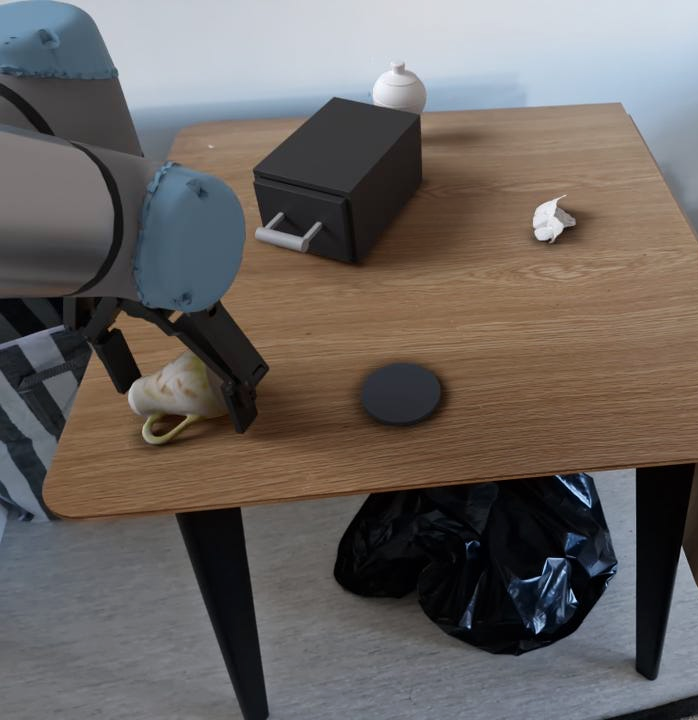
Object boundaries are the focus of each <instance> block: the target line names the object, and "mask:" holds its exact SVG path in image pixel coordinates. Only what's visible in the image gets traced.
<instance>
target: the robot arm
mask: <svg viewBox="0 0 698 720" xmlns="http://www.w3.org/2000/svg"><path fill="white" fill-rule="evenodd" d="M121 84H122V83H121V81H120V79H119V70H118V68H117V67H116V66H115V64H114V61H113V60H112V57H111V55H110V52H109V50H108V47H107V45H106V42H105V40H104V38H103V35H102V33H101V32H100V28H99V26H98V25H97V23H96V22H95V20H94V19H93V17H92V16H91V15H90V14H89V13H88V12H87V11H85V10H84V9H83V8H81V7H79V6H77V5H76V4H75V5H74V4H71V3H68V2H64V1H57V0H19V1H14V2H9V3H4V4H0V299H26V298H27V299H29V298H30V299H31V298H34V299H35V298H62V299H63V301H62V303H63V305H62V307H63V308H62V311H63V312H62V326H63V328H64V330H65V331H67V332H68V333H70V334H75V333H76V332H78V333H80V334H81V337H82V339H83V340H84V341H85V342H87V343H89V344H91V347H92V348H93V350H94V351H95V354H96V357H98V359H99V360H100V362H102V364H103V367H104V368H105V370H106V372H107V375H108V377H109V378H110V380H111V382H112V384H113V386H114V388H115V390H116V392H117V393H118V394H121V395H126V393H127V392H129V390H130V388H131V387H132V384H133V383H134V382H135V381H136V380H137V379H140V378H143V375H142V373H141V372H142V371H140V368H139V366H138V364H137V361H136V360H135V358H134V356H133V355H134V354H133V353H132V351H131V349H130V346H129V345H128V342H127V340H126V338H125V336H124V334H123V332H122V330H121V329H120V328H118V327H113V328H112V329H110V327H112V326H113V325H114V324H115V323H116V322H117V318H118V317H119V315H120V314H121V312H124V313H125V314H126V316H128V317H132V318H134V319H142V320H144V321H146V322H147V323H150V324H154V325H155V326H156V327H157V328H158V329H160V330H161V331H162V332H163V333H164V334H165V335H166V336H168V337H176V338H177V339H178V340H179V341H180V342H181V343H182V344H183V345H184V346H186V348H187V349H190V350H191V351H192V352H193V353H194V354H195V355H196V356H197V357H198V358H199V359H200V360H202V361H203V362H204V363H205V364H206V365H207V366H208V367H209V368H210V369H211V370H212V371H213V372H214V373H215V374H216V375H217V376H218V377H220V378H221V379H222V380H223V381H224V382H223V384H222V385H221V386H220V388H221V391H222V394H223V397H224V400H225V402H226V405H227V408H228V411H229V413H228V414H229V416H230V419H231V423H232V424H233V428H234V430H235V433H236V434H239V435H244V434H245V433H246V432H247V431H248V429H249V428H250V426H251V425H252V424H253V422H254V421H255V420H256V418H257V417H258V416H259V411H258V407H257V404H256V401H257V399H258V393H257V389H256V387H257V386H258V385H259V384H260V383H261V381H262V380H263V379H264V377H265V376H266V375H267V374H268V372H269V371H270V366H269V365H268V363H267V361H266V360H265V359H264V358H263V356H262V355H261V354H260V352H259V351H258V350H257V349H256V347H255V346H254V345H253V343H252V342H251V341H250V339H249V338H248V337H247V335H246V334H245V333H244V332H243V330H242V329H241V327H240V326H239V325H238V323H237V322H236V321H235V320H234V318H233V317H232V316H231V314H230V313H229V312H228V310H227V309H226V308H225V306H224V305H223V303H222V301H221V299H222V298H223V297H224V296H225V295H226V294H227V293H228V291H229V289H230V288H231V287H232V285H233V284H234V281H235V280H236V277H237V275H238V274H239V271H240V269H241V265H242V263H243V253H244V247H245V244H246V238H247V227H246V219H245V213H244V209H243V206H242V203H241V201H240V198H238V196H237V194H236V192H235V191H234V189H232V188H231V186H230V185H229V184H228V183H227V182H225V181H224V180H223V179H221V178H220V177H217V176H216V175H214V174H210V173H206V172H203V171H199V170H195V169H193V168H189V167H186V166H185V165H184V164H182V163H178V162H174V161H167V162H164V161H160V160H155V159H151V158H147V157H145V154H144V151H143V149H142V145H141V143H140V140H139V137H138V134H137V131H136V128H135V124H134V122H133V118H132V115H131V111H130V109H129V106H128V103H127V100H126V97H125V93H124V90H123V88H122V85H121ZM95 297H96V298H99V297H100V298H101V300H100V301H99V303H98V305H96V311H95V312H94V309H95V308H94V307H95ZM176 312H181V314H180V315H179V316H178V317H177V318H176V320H174V321H173V322H172V321H171V319H170V318H171V317H172V316H173V315H174V314H175V313H176ZM109 329H110V330H109ZM232 371H233V372H232Z"/></svg>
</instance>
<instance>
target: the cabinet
mask: <svg viewBox="0 0 698 720" xmlns="http://www.w3.org/2000/svg"><path fill="white" fill-rule="evenodd" d="M422 149H423V146H422V119H421V115H420V114H415V113H410V112H405V111H400V110H396V109H391V108H386V107H381V106H376V105H375V104H372V103H371V104H370V103H366V102H361V101H357V100H352V99H348V98H343V97H337V96H333V97H331V98H330V99H329V101H327V102H326V103H325V104H324V105H323V106H322V107H320V108H319V109H318V110H317V111H316V112H314V114H312V116H311V117H309V118H308V119H307V120H306V121H305V122H304V123H302V124H301V125H300V126H299V127H298V128H296V130H295V131H294V132H292V133H291V134H290V135H289V136H288V137H287V138H286V139H285V140H284V141H282V142H281V143H280V144H279V145H277V146H276V147H275V148H274V149H273V150H272V151H271V152H270V153H269V154H267V155H266V156H265V157H264V158H263V159H261V160H260V162H258V163H257V164H256V165H255V166H254V167H253V168H252V173H253V177H254V181H255V180H256V179H257V178H258V177H260V178H264V179H268V180H271V179H273V180H277V181H282V182H286V183H290V184H294V185H298V186H302V187H306V188H311V189H315V190H319V191H323V192H327V193H331V194H335V195H340V196H344V197H345V198H346V204H347V212H348V219H349V227H350V235H351V243H352V251H353V258H352V259H351V260H350V261H349V262H351V263H355V264H359V263H360V262H361V261H362V260H363V259H364V257H365V256H367V254H368V252H369V251H370V250H371V249H372V248H373V246H374V245H375V243H376V242H377V241H378V240H379V239H380V237H381V236H382V234H383V233H384V232H385V231H386V229H387V228H388V227H389V226H390V224H391V223H392V222H393V221H394V219H395V218H396V217H397V216H398V214H400V212H401V211H402V209H403V208H404V207H405V205H406V204H407V203H408V202H409V201H410V199H411V198H412V197H413V195H414V194H415V193H416V191H417V190H418V189H419V188H420V186H421V185H423V182H424V181H423V180H424V178H423V177H424V175H423V151H422Z"/></svg>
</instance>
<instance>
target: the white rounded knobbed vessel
mask: <svg viewBox="0 0 698 720" xmlns="http://www.w3.org/2000/svg"><path fill="white" fill-rule="evenodd" d="M390 66H391V69H389V70H387V71H384V72H382V74H381V75H380V77H379V78H378V79H377V80H376V82H375V83H374V86H373V89H372V100H373V105H376V106H381V107H386V108H391V109H396V110H400V111H405V112H410V113H415V114H420V116H421V115H422V113H423V111H424V110H425V109H424V108H425V106H426V103H427V96H428V94H427V90H426V89H427V88H426V86H425V84H424V83H423V81H422V80H421V78H419V76H417V74H416V73H415V72H413V71H411V70H408V69H406V63H405V62H404V60H399V59H397V60H393V61H391V63H390Z"/></svg>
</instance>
